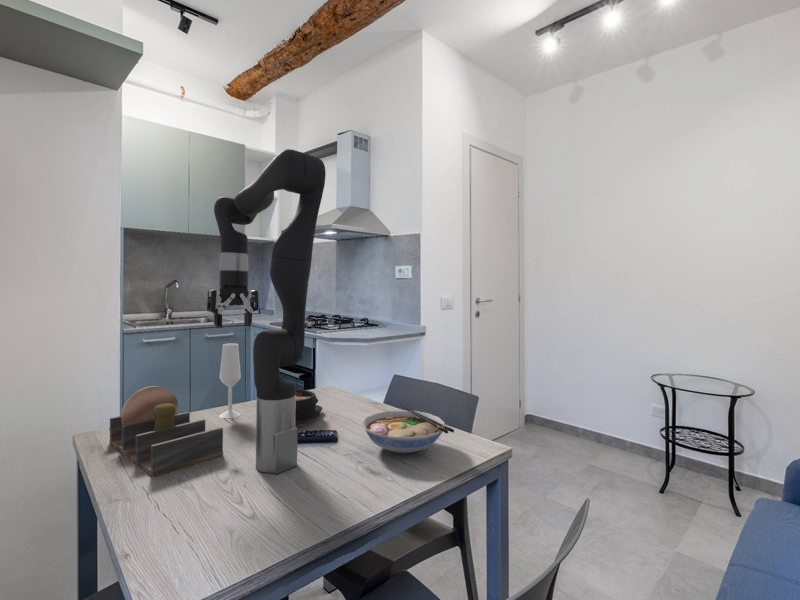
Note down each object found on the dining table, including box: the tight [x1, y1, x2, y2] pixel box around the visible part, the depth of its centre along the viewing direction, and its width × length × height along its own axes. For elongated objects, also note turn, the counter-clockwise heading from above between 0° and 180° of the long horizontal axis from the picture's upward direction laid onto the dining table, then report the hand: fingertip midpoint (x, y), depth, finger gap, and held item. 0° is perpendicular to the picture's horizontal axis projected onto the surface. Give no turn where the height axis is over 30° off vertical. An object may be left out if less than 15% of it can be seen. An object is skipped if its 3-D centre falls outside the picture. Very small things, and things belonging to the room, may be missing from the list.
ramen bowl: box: [361, 406, 455, 455], centre depth 112 cm, size 25×23×8 cm
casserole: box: [295, 389, 323, 426], centre depth 134 cm, size 25×19×8 cm
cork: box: [153, 403, 176, 431], centre depth 108 cm, size 6×6×11 cm
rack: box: [109, 385, 224, 478], centre depth 108 cm, size 30×16×15 cm, turn 51°
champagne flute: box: [218, 342, 242, 420], centre depth 137 cm, size 7×7×24 cm
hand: (233, 326), depth 116 cm, fingers open, 8 cm apart
